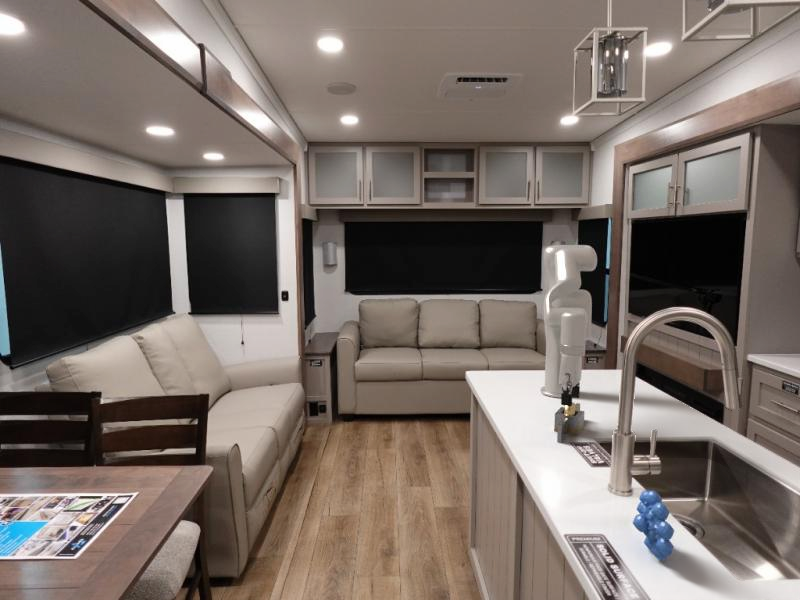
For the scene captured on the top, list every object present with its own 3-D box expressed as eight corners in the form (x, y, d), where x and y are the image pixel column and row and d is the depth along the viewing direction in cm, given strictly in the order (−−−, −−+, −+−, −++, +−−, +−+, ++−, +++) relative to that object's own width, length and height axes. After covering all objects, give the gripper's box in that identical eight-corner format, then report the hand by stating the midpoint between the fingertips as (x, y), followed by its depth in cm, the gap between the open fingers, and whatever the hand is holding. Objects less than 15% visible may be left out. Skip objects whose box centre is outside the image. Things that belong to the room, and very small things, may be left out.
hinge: (566, 416, 167) (567, 400, 166) (589, 421, 163) (589, 404, 162) (546, 439, 148) (547, 421, 147) (571, 445, 144) (572, 426, 143)
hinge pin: (565, 427, 158) (566, 401, 156) (575, 429, 156) (576, 403, 155) (562, 430, 155) (563, 404, 154) (572, 432, 153) (573, 405, 152)
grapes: (618, 532, 101) (622, 479, 99) (651, 533, 100) (655, 480, 99) (643, 570, 89) (647, 510, 88) (680, 571, 89) (685, 511, 87)
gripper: (567, 343, 161) (565, 392, 163) (553, 353, 147) (550, 406, 149) (590, 346, 157) (588, 396, 159) (578, 356, 143) (575, 411, 145)
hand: (570, 401), depth 154 cm, fingers open, 9 cm apart
